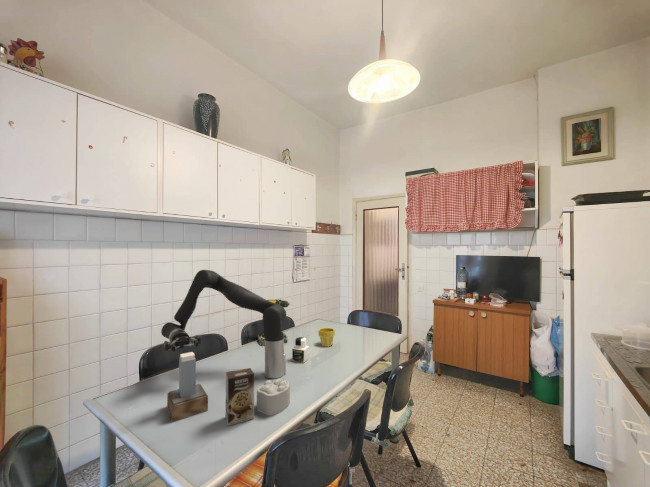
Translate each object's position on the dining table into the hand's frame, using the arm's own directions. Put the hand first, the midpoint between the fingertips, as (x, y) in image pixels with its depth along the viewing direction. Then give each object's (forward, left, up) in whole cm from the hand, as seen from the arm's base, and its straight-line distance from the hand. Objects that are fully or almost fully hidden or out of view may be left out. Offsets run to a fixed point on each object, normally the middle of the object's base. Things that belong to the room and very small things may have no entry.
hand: (185, 346), depth 119 cm
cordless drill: (-61, -42, -20) cm, 77 cm away
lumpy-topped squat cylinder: (-26, +31, -20) cm, 45 cm away
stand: (+2, +13, -20) cm, 24 cm away
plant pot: (-84, -13, -20) cm, 88 cm away
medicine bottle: (-58, -2, -20) cm, 62 cm away
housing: (+2, +13, -14) cm, 19 cm away
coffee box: (-12, +31, -20) cm, 39 cm away
